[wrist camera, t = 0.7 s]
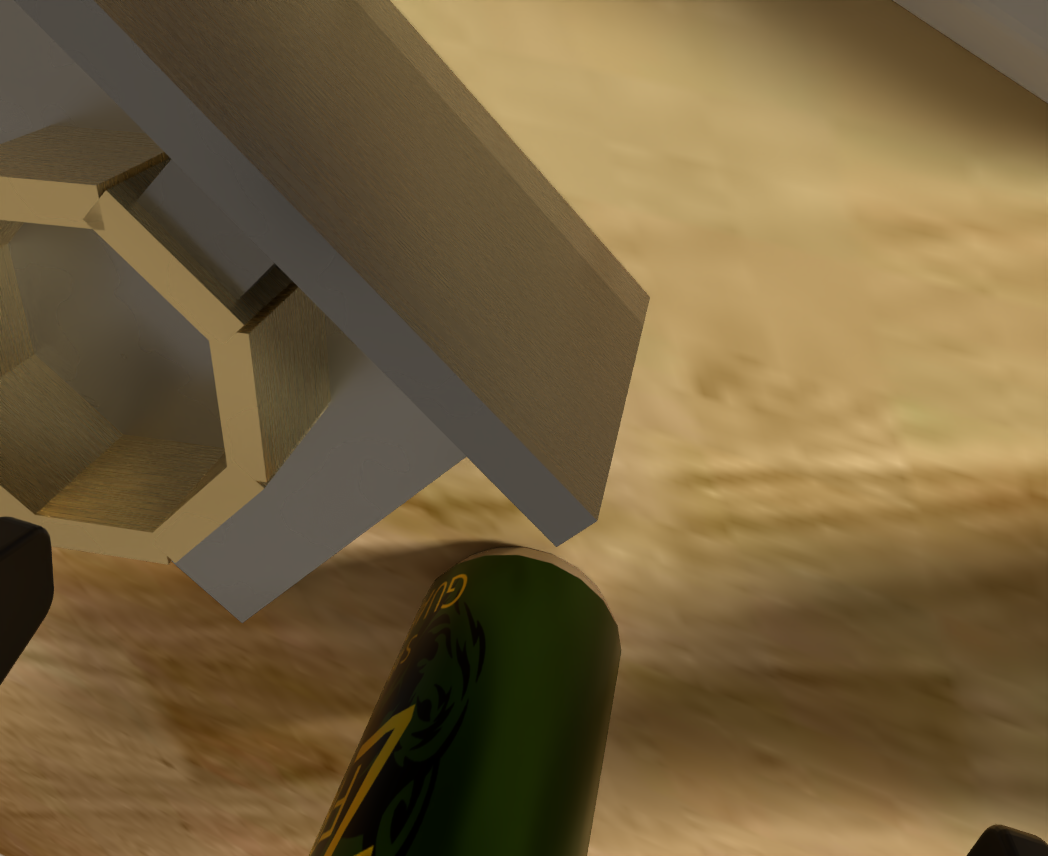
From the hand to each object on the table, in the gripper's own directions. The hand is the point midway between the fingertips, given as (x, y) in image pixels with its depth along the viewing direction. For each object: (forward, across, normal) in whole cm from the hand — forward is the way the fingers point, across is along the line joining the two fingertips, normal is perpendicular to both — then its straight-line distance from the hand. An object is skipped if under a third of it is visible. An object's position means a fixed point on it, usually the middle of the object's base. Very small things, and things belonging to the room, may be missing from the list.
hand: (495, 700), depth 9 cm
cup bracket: (+14, +9, +3) cm, 17 cm away
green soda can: (+14, 0, +11) cm, 18 cm away
